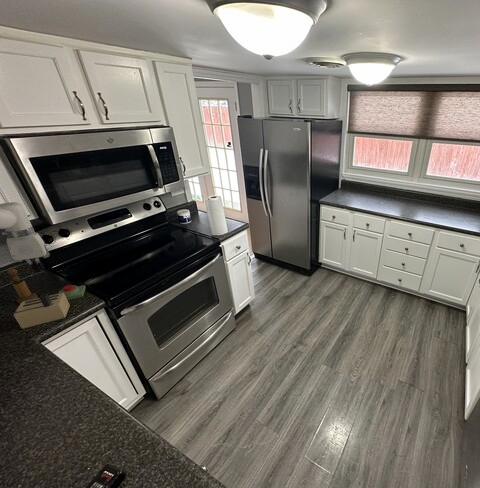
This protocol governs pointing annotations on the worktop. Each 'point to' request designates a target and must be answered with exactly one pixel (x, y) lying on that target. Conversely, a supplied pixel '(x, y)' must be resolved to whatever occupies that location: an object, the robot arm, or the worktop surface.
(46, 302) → the slider
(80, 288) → the panel
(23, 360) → the worktop surface
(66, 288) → the button
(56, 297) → the toaster
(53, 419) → the worktop surface
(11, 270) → the wooden pepper mill
